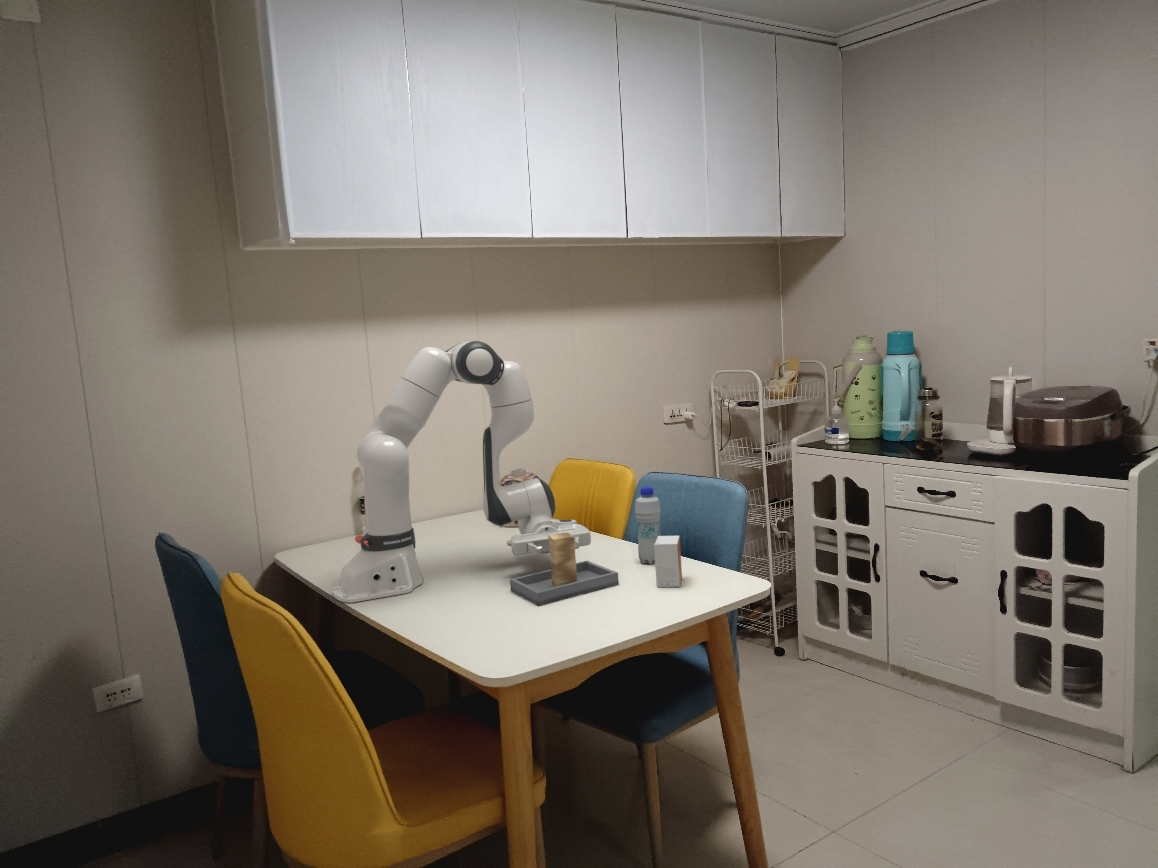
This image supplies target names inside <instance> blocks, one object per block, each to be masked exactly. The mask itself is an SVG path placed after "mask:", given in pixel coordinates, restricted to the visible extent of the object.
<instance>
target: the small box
mask: <svg viewBox="0 0 1158 868" xmlns="http://www.w3.org/2000/svg"><path fill="white" fill-rule="evenodd" d="M681 549H682V548H681V536H680V535H661V536H657V540H656V542H655V544H654V552H655V560H654V567H655V578H656V581H655V582H656V587H657V588H677V587H679V588H680V587H681V583H682V580H683V572H682V571H683V570H682V569H683V567H682V554H681V552H682V551H681Z"/></svg>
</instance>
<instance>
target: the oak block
mask: <svg viewBox="0 0 1158 868" xmlns="http://www.w3.org/2000/svg"><path fill="white" fill-rule="evenodd" d="M548 537H549V550H550V553H549V559H550V561H549V562H550V569H551V576H552V584H553V585H554V586H555V587H557V586H561V585H565V584H569V583H573V582H577V571H576V563H577V559H576V558H577V557H576V549H575V543H574V536H572V535H571V534H570V533H569V532H566V533H559V534H552V535H548Z"/></svg>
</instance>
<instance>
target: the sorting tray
mask: <svg viewBox="0 0 1158 868" xmlns="http://www.w3.org/2000/svg"><path fill="white" fill-rule="evenodd" d="M576 571H577V582H573V583H569V584H565V585H561V586H557V587H555V586H554V585H553V584H552V576H551V568H550V569H547V570H543V571H538V572H534V573H530V574H525V575H522V576H518V577H517V576H516V577H514V578H513V577H512V578H510V579H509V584H510V585H509V586H510V592H511V591H512V593H513V592H514V593H513V594H515V593H516V594H515V595H517V594H518V595H517V596H519V597H520V598H523V599H525V600H526V599H527V600H526V601H528V600H529V601H528V602H530V601H531V603H532V602H533V603H532V604H534V603H535V605H537V606H538V607H540V606H544V605H547V603H548V604H550V602H551V603H554V602H559V601H564V600H566V599H570V598H574V597H577V596H581V595H584V594H588V593H593V592H596V591H599V590H603V589H604V590H605V589H607V588H611V587H615V586H619V572H618V571H615V570H612V569H610V568H608V567H605V566H602V565H599V564H597V563H594V562H593V561H589V560H585V561H579V562H576ZM543 604H544V605H543ZM539 605H540V606H539Z"/></svg>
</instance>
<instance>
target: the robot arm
mask: <svg viewBox="0 0 1158 868" xmlns="http://www.w3.org/2000/svg"><path fill="white" fill-rule="evenodd" d="M398 379H399V380H398V381H397V383H396V385H395V387H394V388H393V390H392V391H391V394H390V395H389V397H388V399H387V401H386V402H385V404H384V405H383V407H382V409H381V410H380V412H379V413H378V414H377V415H376V417H375V418H374V419H373V421H372V423H371V424H370V426H369V428H368V429H367V430H366V432H365V434H364V435H363V437H362V439H361V440H360V441H359V444H358V446H357V450H356V457H357V460H358V462H359V464H360V466H361V467H362V470H363V482H364V483H363V487H364V489H363V490H364V502H363V503H364V511H365V521H366V522H365V523H366V531H367V532H366V533H365V534H364V535H361V534H356V535H355V537H354V540H355V543H357V544H360V548H361V549H360V550H359V551H358V552H357V553H356V554H355V555H354V556H353V557H352V558H350V560H349V561H348V562H347V563H346V564H345V565H344V566H343V567H342V570H341V573H340V584H339V585H335V586H334V587H333V588H332V593H331V594H332V596H333V598H334V599H335V600H338V601H339V602H343V603H358V602H362V601H369V600H374V599H381V598H385V597H391V596H399V595H403V594H409V593H411V592H412V591H413V590H414V589H415V588H416V587H419V586H421V585H422V583H423V582H424V578H423V575H422V571H421V570H420V567H419V563H418V559H417V555H416V544H417V543H416V535H415V530H414V527H413V525H412V517H411V516H412V515H411V506H410V503H411V502H410V462H409V461H410V459H409V458H410V455H409V451H408V447H409V446H410V445H411V443H412V442H413V441H414V439H415V437H416V436H417V435H418V434H419V432H420V431H421V430H422V429H423V428H424V427H425V425H426V424H427V422H428V420H429V419H430V417H431V414H432V412H433V411H434V410H435V407H436V405H437V403H439V400H440V399H441V398H442V397H441V396H442V394H443V392H444V391H445V389H446V388H447V387H448V385H450V383H451V382H452V381H453V382H454V381H456V382H460V383H464V384H467V385H475V384H476V385H482V386H483V387H484V389H485V390H486V392H487V394H488V400H489V404H490V405H489V406H490V411H491V412H490V413H491V418H490V421H489V424H488V427H486V428H485V429H484V431H483V435H482V437H483V438H482V464H483V465H482V468H483V469H482V470H483V502H482V508H483V514H484V516H485V518H486V520H487V522H489V523H491V524H493V525H494V526H498V527H501V526H502V525H505V524H508V523H511V522H512V521H516V520H519V521H518V527H517V528H518V530H519V534H515V535H513V536H511V537H510V539H509V540H506V544H507V546H509V547H510V548H511V552H512V555H514V556H525V555H531V554H535V555H542V554H545V555H547V554H550V550H549V537H548V535H552V534H559V533H566V532H569V533H570V534H571V535H572V536H574V543H575V550H577V549H580V547H586V546H589V545H591V543H592V539H591V538H592V537H591V531H590V530H589V529H588V527H586V526H584V525H583V524H579V523H577V521H576V520H575V519H557V518H553V517H554V516H555V512H556V501H555V497H554V493H553V490H552V488H551V487H550V486H549V484H548V483H547V482H545V481H544V480H543V479H541V478H540V477H539V478H540V479H539V478H535V479H531V480H526V481H522V482H520V483H516V484H512V485H507V486H500V479H501V476H500V475H501V474H500V470H501V469H500V456H501V454H502V452H503V450H504V449H505V448H506V447H508V446H509V445H510V444H511V443H513V442H514V441H516V440H517V439H518V438H520V437H522V436H523V435H524V434H525V433H526V432H528V431H529V430H530V427H531V426H532V424H533V422H534V419H535V411H534V404H533V398H532V393H531V389H530V386H529V383H528V380H527V377H526V374H525V372H524V370H523V367H522V365H520V364H519V363H518V362H516V361H512V360H503V359H502V358H501V357H500V355H499V354H498V353H497V352H496V351H495V350H494V349H493V348H492V347H491V346H490V345H489V344H488V343H486V342H483V341H480V340H465V341H462V342H459V343H457V344H455V345H454V346H452V347H450V348H448V349H447V350H445V351H444V350H442V349H441V348H437V347H435V346H426V347H423V348H421V349H420V350H419V351H418V352H417V353H416V354H415V356H414V357H413V358H412V359H411V360H410V362H409V364H408V365H407V366H406V368H405V369H404V371H403V373H402V374H401V376H400V378H398Z"/></svg>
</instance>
